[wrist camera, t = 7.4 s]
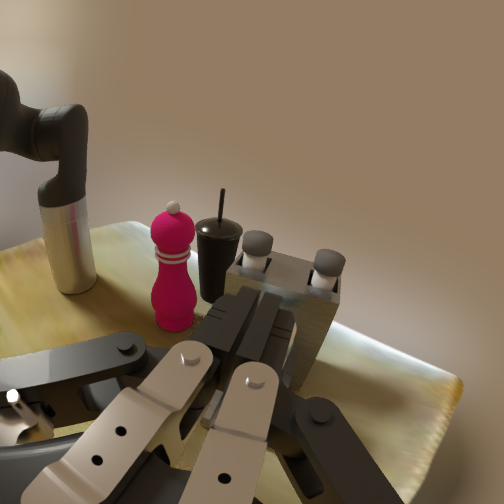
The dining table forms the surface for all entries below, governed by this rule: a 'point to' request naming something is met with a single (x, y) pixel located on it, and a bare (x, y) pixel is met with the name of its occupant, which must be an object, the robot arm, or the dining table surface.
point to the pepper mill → (173, 269)
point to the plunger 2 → (327, 269)
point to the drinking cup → (216, 252)
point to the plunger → (256, 249)
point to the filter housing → (294, 300)
